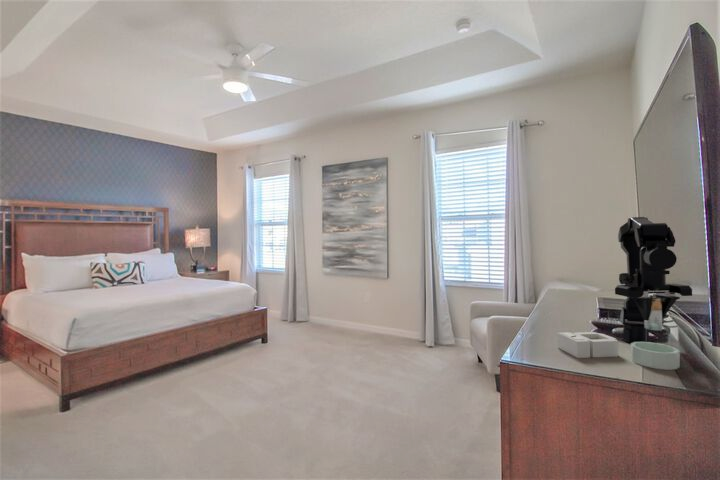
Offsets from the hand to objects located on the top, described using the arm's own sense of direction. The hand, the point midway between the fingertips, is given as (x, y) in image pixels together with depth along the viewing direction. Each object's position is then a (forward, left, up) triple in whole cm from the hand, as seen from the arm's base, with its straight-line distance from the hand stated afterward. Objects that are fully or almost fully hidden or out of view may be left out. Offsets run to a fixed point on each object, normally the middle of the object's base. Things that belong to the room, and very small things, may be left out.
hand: (653, 319), depth 103 cm
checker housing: (+12, -11, -12) cm, 20 cm away
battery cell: (0, 0, -2) cm, 2 cm away
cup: (0, 0, -12) cm, 12 cm away
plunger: (+10, -11, -10) cm, 18 cm away
